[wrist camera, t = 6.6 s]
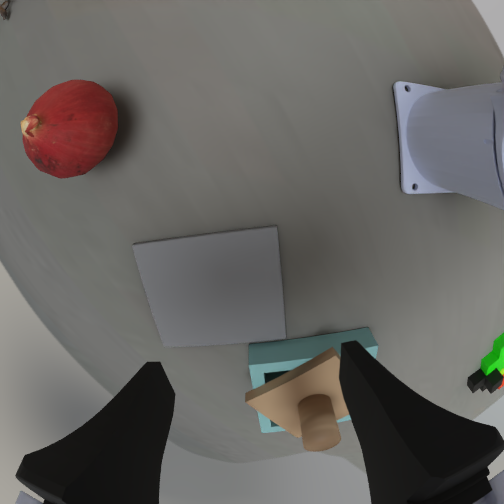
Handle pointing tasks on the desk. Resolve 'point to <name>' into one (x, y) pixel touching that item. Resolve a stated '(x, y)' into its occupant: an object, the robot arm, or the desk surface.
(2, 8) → the lion figurine
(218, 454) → the desk surface
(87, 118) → the pomegranate
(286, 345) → the dish
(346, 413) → the lid
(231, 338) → the mat
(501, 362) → the building blocks
